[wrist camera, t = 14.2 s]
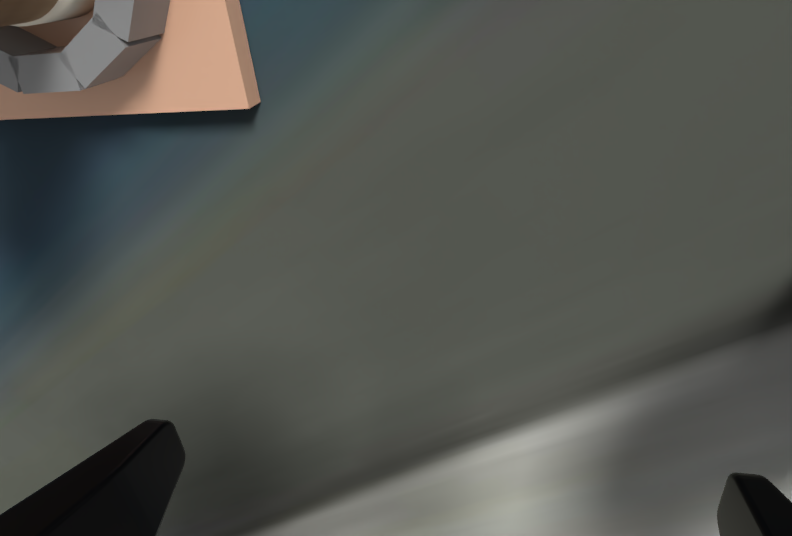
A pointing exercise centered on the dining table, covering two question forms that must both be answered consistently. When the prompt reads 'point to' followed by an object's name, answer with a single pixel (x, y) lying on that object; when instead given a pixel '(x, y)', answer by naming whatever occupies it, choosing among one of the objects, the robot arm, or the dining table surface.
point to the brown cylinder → (41, 11)
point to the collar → (129, 61)
